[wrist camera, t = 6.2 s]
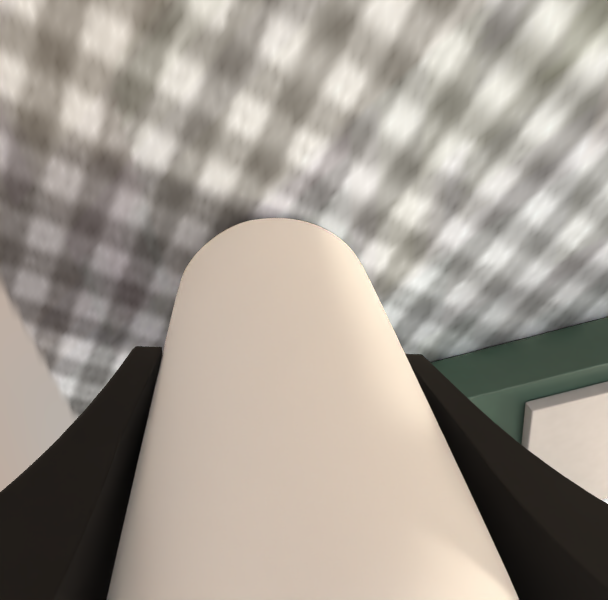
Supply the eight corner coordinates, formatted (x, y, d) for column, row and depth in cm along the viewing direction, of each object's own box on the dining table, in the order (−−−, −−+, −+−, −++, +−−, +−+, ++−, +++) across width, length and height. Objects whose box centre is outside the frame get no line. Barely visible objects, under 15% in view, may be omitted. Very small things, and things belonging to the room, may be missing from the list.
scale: (429, 495, 23) (448, 546, 21) (413, 366, 18) (438, 417, 15) (666, 436, 23) (712, 482, 21) (729, 284, 17) (802, 325, 15)
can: (312, 171, 13) (572, 767, 3) (393, 319, 16) (636, 814, 6) (136, 275, 14) (-134, 950, 4) (247, 392, 17) (254, 904, 7)
